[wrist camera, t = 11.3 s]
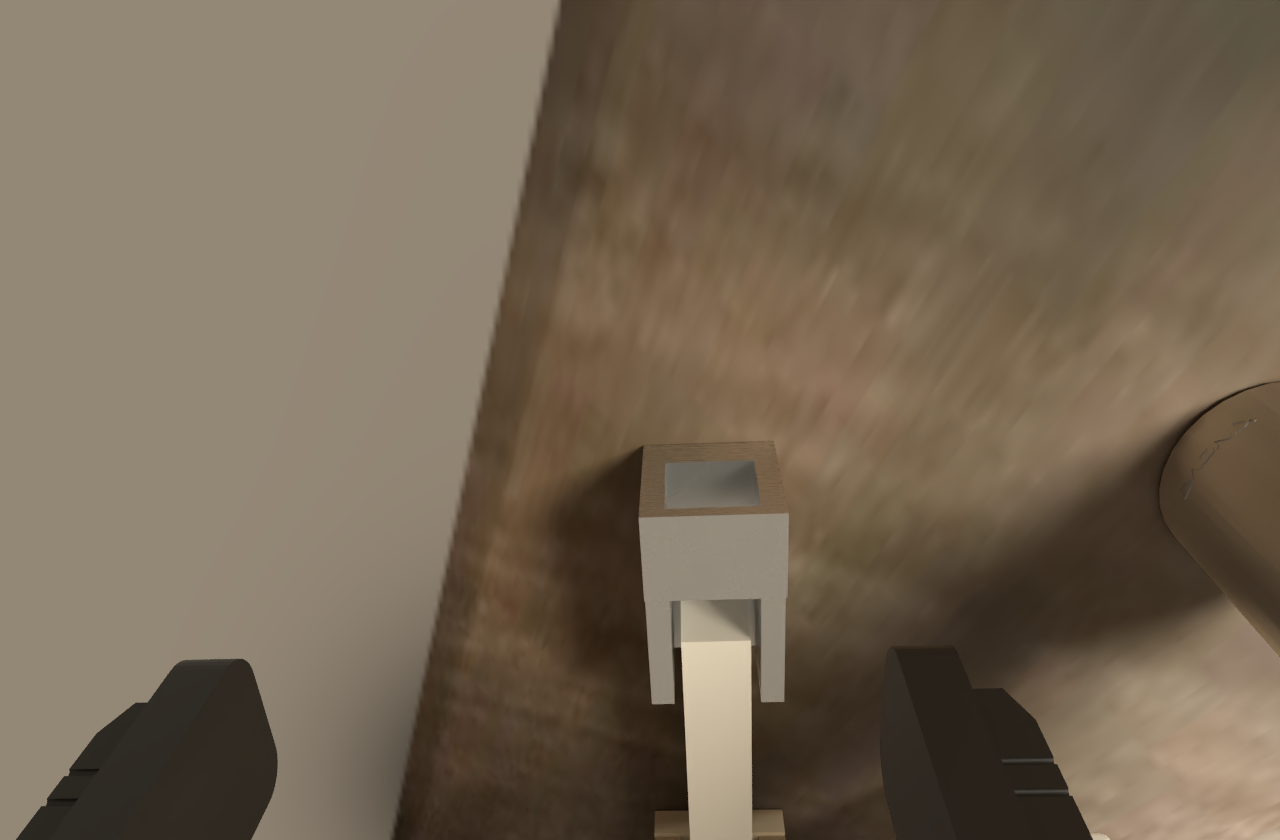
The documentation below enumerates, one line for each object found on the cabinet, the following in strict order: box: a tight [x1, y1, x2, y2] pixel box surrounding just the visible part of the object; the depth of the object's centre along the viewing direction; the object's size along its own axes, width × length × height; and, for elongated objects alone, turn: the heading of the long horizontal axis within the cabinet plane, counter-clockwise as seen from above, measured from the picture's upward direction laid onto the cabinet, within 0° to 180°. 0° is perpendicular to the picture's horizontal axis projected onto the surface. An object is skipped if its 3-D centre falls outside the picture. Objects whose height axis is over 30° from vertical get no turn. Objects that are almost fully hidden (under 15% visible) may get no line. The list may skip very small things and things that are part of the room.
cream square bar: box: [681, 599, 752, 840], centre depth 45 cm, size 18×3×3 cm, turn 3°
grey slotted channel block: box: [639, 441, 789, 704], centre depth 41 cm, size 10×6×6 cm, turn 3°
